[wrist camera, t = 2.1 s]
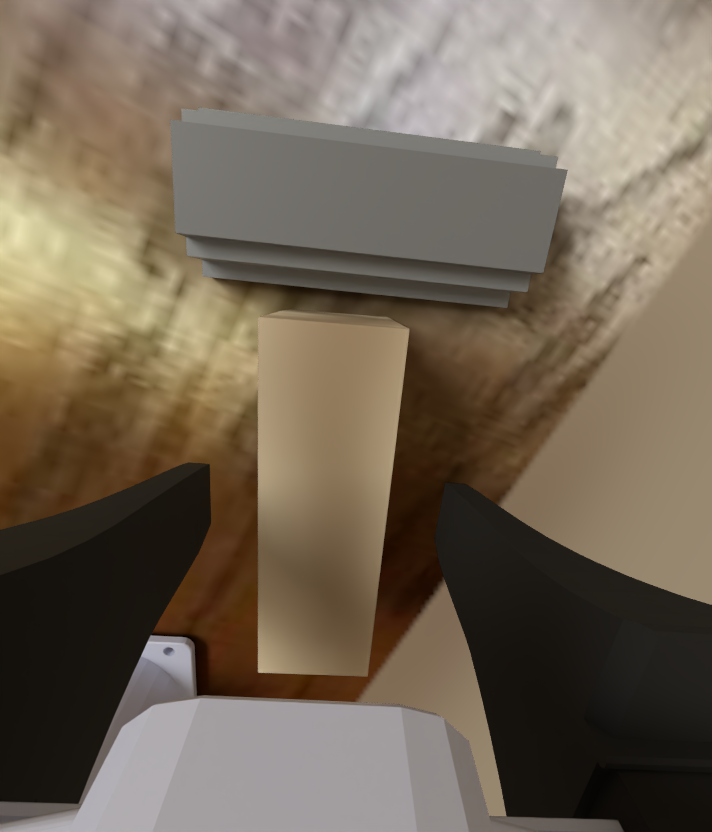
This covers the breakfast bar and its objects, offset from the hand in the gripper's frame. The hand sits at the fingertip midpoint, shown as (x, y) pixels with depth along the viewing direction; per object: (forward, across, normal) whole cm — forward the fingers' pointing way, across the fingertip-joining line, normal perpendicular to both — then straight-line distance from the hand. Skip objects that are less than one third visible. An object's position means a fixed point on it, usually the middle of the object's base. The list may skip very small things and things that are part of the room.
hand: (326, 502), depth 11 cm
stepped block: (+4, 0, -8) cm, 9 cm away
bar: (+4, 0, 0) cm, 4 cm away
